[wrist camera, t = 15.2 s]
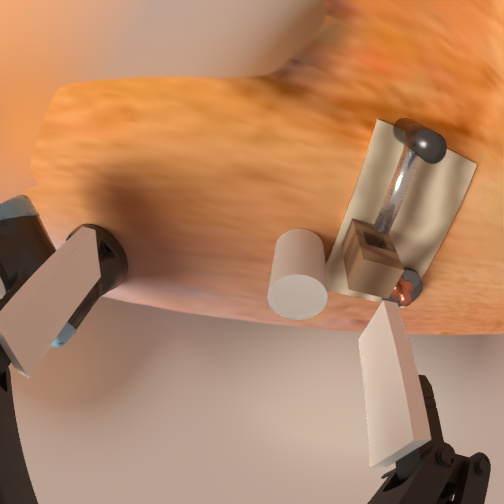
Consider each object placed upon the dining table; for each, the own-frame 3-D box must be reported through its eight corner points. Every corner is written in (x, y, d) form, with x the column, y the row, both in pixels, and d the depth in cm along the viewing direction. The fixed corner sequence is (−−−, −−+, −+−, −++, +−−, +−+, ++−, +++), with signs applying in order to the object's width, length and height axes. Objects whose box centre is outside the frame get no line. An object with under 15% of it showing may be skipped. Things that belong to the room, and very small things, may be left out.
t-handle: (363, 210, 43) (377, 246, 34) (397, 114, 34) (424, 127, 26) (384, 216, 43) (402, 253, 34) (419, 123, 34) (450, 139, 26)
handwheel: (370, 270, 48) (379, 307, 41) (412, 252, 45) (429, 287, 37) (386, 308, 52) (395, 345, 44) (424, 292, 49) (438, 328, 41)
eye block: (317, 284, 53) (317, 334, 43) (377, 119, 36) (403, 135, 26) (402, 304, 53) (415, 352, 43) (474, 162, 36) (514, 192, 26)
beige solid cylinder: (285, 274, 53) (279, 324, 43) (267, 236, 49) (257, 282, 39) (329, 263, 50) (333, 312, 40) (315, 222, 47) (318, 267, 37)
